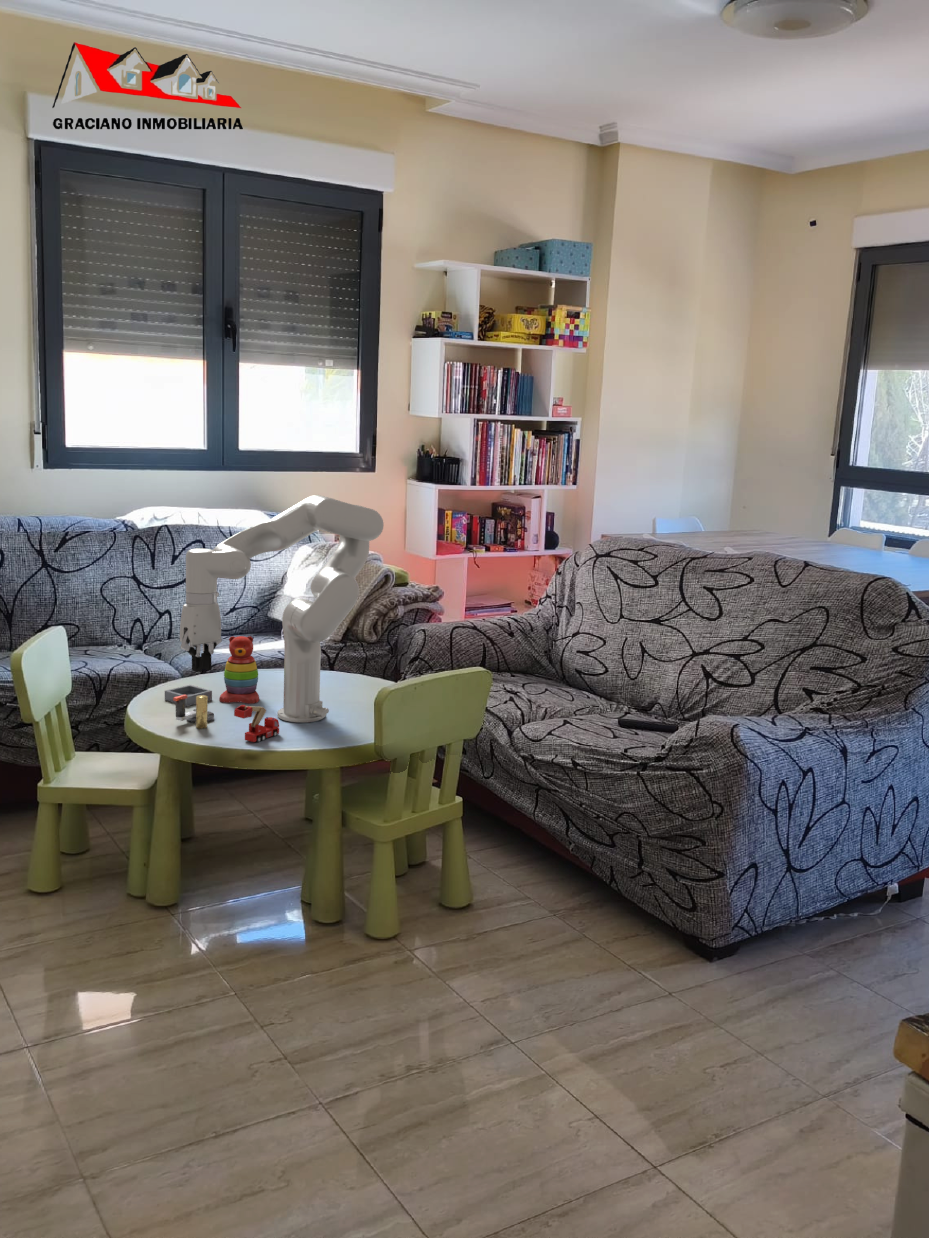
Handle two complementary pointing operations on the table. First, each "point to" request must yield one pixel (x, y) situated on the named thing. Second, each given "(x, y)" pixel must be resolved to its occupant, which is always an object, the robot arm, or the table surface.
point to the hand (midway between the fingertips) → (201, 669)
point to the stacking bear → (240, 672)
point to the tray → (189, 691)
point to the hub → (209, 717)
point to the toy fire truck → (257, 723)
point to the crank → (182, 709)
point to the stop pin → (201, 711)
